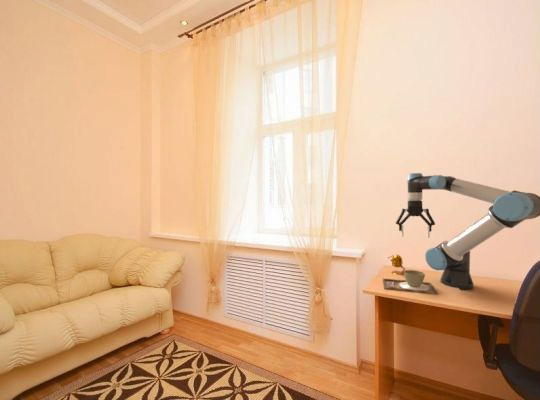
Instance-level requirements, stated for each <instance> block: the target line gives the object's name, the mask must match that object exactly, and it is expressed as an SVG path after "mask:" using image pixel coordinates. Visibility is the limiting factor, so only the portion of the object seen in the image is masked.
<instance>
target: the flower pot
mask: <svg viewBox="0 0 540 400" xmlns="http://www.w3.org/2000/svg"><path fill="white" fill-rule="evenodd" d="M403 276H404V278H405V280H406V281H407V283H408V285H409V286H411V287H420V285H421V284H422V282H424V280H425V277H426V273H425V272H423V271H421V270H420V271H419V270H415V269H412V270H411V269H407V270H406V269H405V270H404V275H403Z"/></svg>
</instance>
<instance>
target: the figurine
mask: <svg viewBox="0 0 540 400" xmlns="http://www.w3.org/2000/svg"><path fill="white" fill-rule="evenodd" d="M390 258H392V259H390ZM387 259H390V262H391V266H393V267H394V268H401V269H402V271H401V270H400V271H399V270H392V271H391V274H392V275H396V276H397V275H399V276H404V271H405V270H406V268H405V267H404V266H403V259H402V256H401V255H399V254H391V255H390V256H388V257H387Z"/></svg>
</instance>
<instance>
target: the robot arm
mask: <svg viewBox="0 0 540 400" xmlns="http://www.w3.org/2000/svg"><path fill="white" fill-rule="evenodd" d="M423 190H443V191H448V192H452V193H455V194H459V195H461V196H466V197H468V198H473V199H476V200H480V201H483V202H487V203H490V204H492V205H491V206H490V207H488V210H487V211H488V213H486V214H485V215H484V216H482V217H481V218H480V219H478V220H477V221H475V222H474V223H472V224H471V225H470V226H468V227H467V228H466V229H464V230H463V231H462V232H460V233H458V234H457V235H456V236H454V237H453V238H452V239H450V240H443V241H442V242H441V243H440V244H438V245H437V246H435V247H431V248H428V249H427V250H426V251H425V255H424V256H425V257H424V258H425V262H426V264H427V265H428V266H429V267H430V268H431V269H433V270H435V271H443V272H442V274H441V276H440V281H439V282H440V283H441V284H442V285H445V286H447V287H450V288H456V289H459V290H468V291H469V290H473V289H474V286H475V285H474V281H473V279H472V276H471V272H470V271H471V269H470V267H471V266H470V263H471V262H470V261H471V260H470V259H471V250H473V249H475V248H476V247H477V246H479V245H481V244H482V243H484V242H486V241H487V240H489V239H490V238H492V237H493V236H495V235H496V234H498V233H499V232H501V231H502V230H504V229H505V228H507V229H513V228H515V227H516V226H518V225H519V224H520V223H522V222H524V221H526V220H531V219H536V218H539V217H540V195H537V194H536V193H533V192H525V191H524V192H523V191H518V190H514V189H513V190H512V191H509V190H505V189H500V188H496V187H493V186H489V185H484V184H481V183H476V182H472V181H468V180H464V179H459V178H457V177H455V176H449V175H447V176H446V175H445V176H444V175H441V174H437V175H436V174H435V175H426V176H424V175H423V174H422V172H421V173H420V172H415V173H413V172H412V173H408V175H407V208H401V212H400V214H399V215H398V216H397V219H396V221H395V224H396V225H398V231H399V232H400V237H401V238H404V223H405V222H406V221H407V220H408V219H410V217H420V218H421V219H422V220H423V221H424V222H425V224H426V238H428V239H429V238H430V236H431V235H430V234H431V232H432V226H434V225H436V222H435V220H434V219H433V217H432V215H431V214H430V210H429V208H423V201H422V200H423ZM406 212H407V214H406V216H405V217H403V216H404V215H405V213H406ZM423 212H424V213H425V214H426V216H427V218H428V219H427V218H426V217H425V216H424V214H423Z"/></svg>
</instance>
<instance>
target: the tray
mask: <svg viewBox="0 0 540 400" xmlns="http://www.w3.org/2000/svg"><path fill="white" fill-rule="evenodd" d="M393 281H394V282H395V283H394V288H393V287H390V285H392V282H393ZM402 282H407V281H406V279H405V280H404V279H394V278H393V279H392V278H382V284H383V289H384V290H389V291H392V290H393V291H399V292H409V293H410V292H411V293H419V294H420V293H421V294H429V295H438V291H436V289H435V288H434V287H433V285H432V283H431V282H430V281H429V282H428V281H423V282H422V284H424V285H426V286H428V287H429V291H423V290H413V289H403V288H401V287H400V286H399V284H400V283H402Z"/></svg>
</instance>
